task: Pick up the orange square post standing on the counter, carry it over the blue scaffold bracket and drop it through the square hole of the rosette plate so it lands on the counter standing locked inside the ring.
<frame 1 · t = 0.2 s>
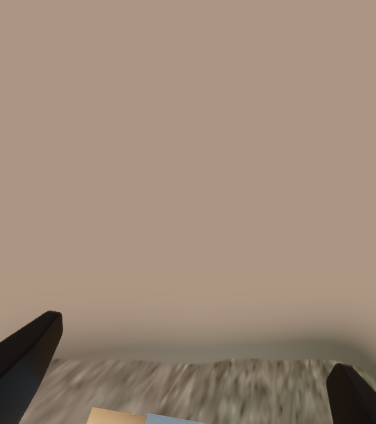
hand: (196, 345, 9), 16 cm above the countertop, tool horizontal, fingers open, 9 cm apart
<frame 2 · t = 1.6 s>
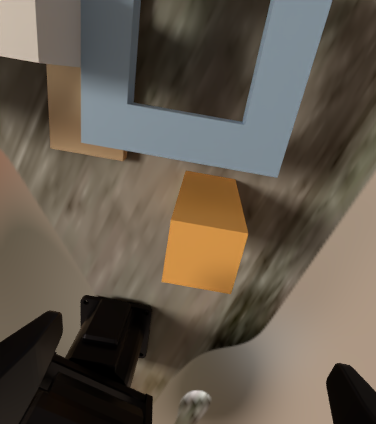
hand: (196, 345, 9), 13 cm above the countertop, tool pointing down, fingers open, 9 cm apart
orange square post: (205, 198, 21), on the countertop
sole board: (93, 37, 17), on the countertop
bracket: (200, 56, 17), resting on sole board
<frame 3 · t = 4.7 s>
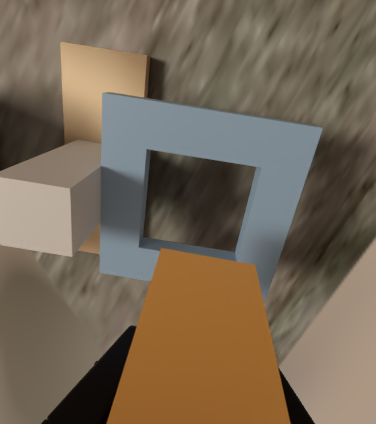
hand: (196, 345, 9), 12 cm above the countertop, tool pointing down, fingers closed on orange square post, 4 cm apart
orange square post: (199, 292, 11), point 10 cm above the countertop, touching gripper
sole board: (106, 163, 20), on the countertop
bracket: (199, 178, 20), resting on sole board
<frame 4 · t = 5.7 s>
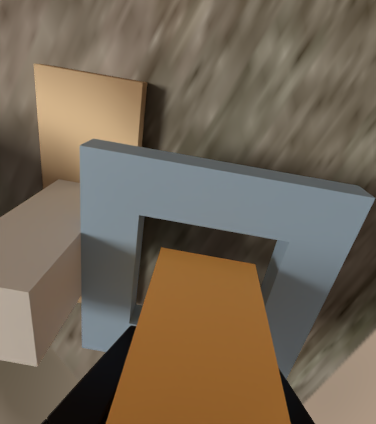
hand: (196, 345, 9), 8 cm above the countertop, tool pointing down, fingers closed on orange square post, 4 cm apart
orange square post: (199, 292, 11), point 6 cm above the countertop, touching gripper
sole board: (94, 203, 17), on the countertop
bracket: (204, 223, 17), resting on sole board
when the fingers open (6 cm above the countertop, at t = 6.4 s): orange square post drops 4 cm, on the countertop.
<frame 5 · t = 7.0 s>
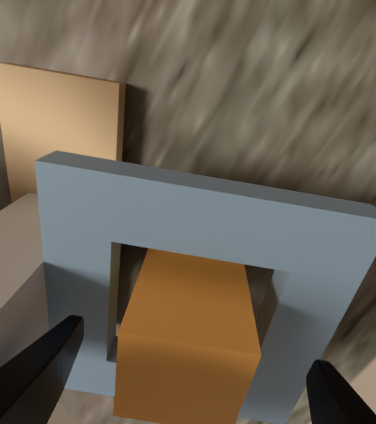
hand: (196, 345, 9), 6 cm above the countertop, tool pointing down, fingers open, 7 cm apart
orange square post: (194, 238, 15), on the countertop
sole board: (71, 218, 15), on the countertop
bracket: (194, 239, 15), resting on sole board
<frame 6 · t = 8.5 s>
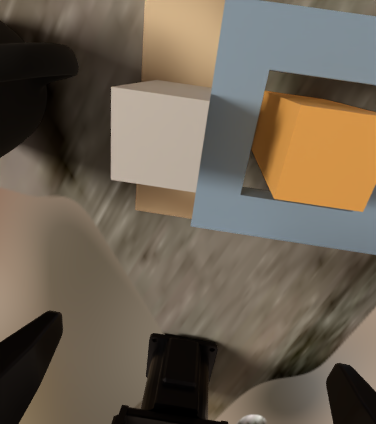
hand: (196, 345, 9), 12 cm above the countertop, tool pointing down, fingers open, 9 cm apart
mug: (22, 78, 18), on the countertop
orange square post: (286, 125, 18), on the countertop
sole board: (182, 110, 18), on the countertop
bracket: (286, 126, 18), resting on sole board
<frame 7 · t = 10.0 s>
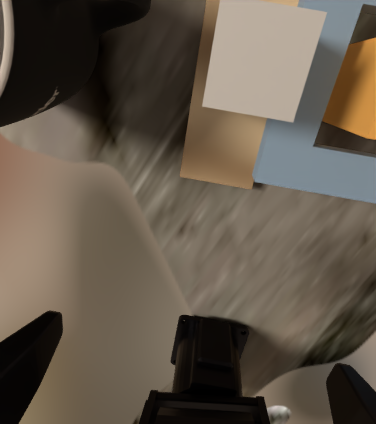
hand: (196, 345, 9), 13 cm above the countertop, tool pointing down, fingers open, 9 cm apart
mug: (72, 32, 17), on the countertop
orange square post: (344, 89, 17), on the countertop
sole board: (238, 70, 17), on the countertop
bracket: (345, 89, 17), resting on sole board
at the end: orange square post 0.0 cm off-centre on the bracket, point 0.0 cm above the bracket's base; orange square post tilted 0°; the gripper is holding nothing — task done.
